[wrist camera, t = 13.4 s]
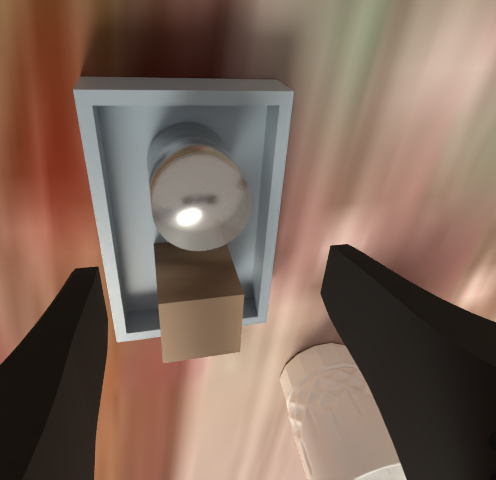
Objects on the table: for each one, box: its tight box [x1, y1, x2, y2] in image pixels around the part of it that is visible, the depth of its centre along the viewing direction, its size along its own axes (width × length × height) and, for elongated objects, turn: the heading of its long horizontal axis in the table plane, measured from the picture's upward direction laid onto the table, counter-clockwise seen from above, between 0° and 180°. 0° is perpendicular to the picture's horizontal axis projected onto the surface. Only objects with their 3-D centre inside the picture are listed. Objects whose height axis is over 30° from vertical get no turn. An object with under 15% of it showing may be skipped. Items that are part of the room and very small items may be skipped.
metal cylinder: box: [147, 122, 252, 251], centre depth 18 cm, size 4×4×5 cm
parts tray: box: [73, 77, 294, 342], centre depth 21 cm, size 9×14×2 cm, turn 176°
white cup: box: [280, 343, 407, 480], centre depth 29 cm, size 8×8×10 cm
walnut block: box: [154, 242, 244, 363], centre depth 21 cm, size 4×4×5 cm
